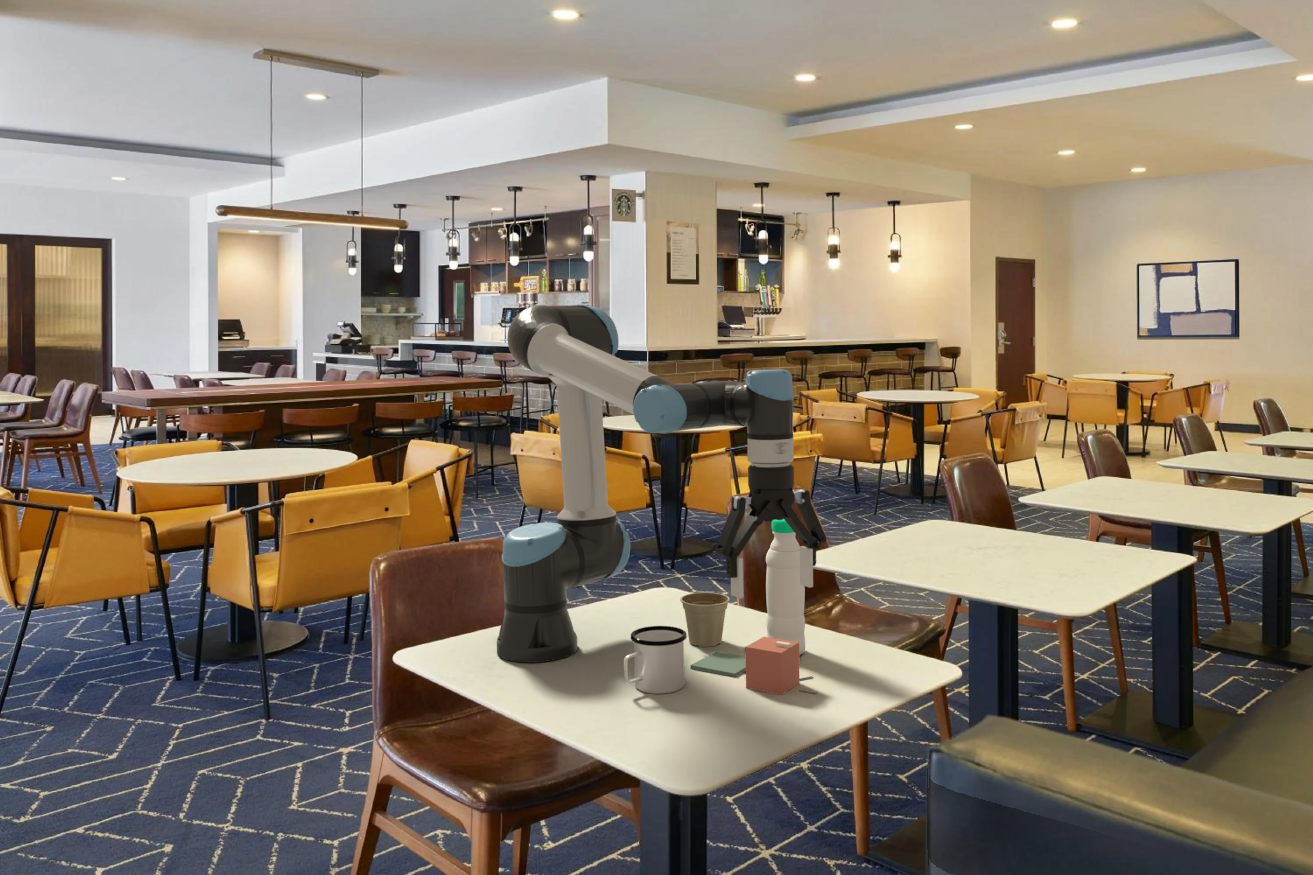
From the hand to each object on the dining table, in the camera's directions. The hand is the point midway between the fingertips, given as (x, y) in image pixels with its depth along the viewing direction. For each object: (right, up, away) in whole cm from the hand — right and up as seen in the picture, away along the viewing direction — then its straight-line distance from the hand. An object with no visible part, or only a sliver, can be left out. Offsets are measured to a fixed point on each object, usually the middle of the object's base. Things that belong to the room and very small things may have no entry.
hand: (772, 591), depth 170 cm
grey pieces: (+4, -16, +2) cm, 17 cm away
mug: (-20, -17, +2) cm, 26 cm away
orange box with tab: (0, -16, +2) cm, 16 cm away
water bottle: (+5, -14, +19) cm, 24 cm away
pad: (-7, -15, +12) cm, 21 cm away
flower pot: (-10, -14, +26) cm, 31 cm away
